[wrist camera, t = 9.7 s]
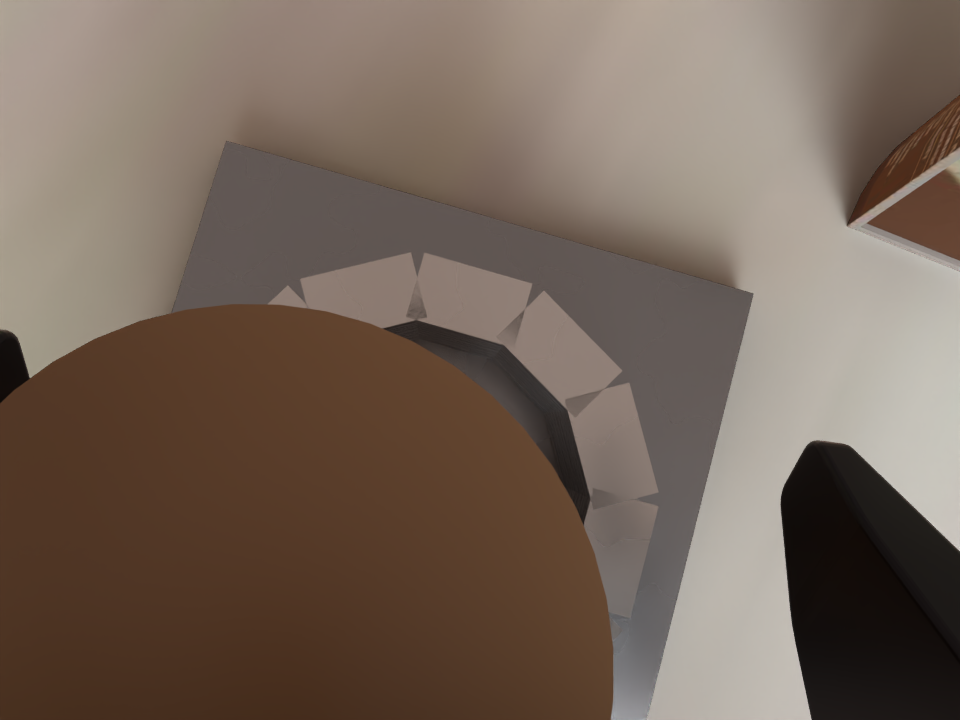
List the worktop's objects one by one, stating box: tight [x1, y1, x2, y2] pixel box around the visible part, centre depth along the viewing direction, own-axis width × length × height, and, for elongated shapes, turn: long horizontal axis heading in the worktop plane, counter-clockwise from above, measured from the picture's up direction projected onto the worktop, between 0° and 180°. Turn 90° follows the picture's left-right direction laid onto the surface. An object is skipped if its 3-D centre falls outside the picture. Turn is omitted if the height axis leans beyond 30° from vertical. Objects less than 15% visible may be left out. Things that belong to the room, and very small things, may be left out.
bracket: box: [172, 141, 753, 720], centre depth 16 cm, size 12×12×4 cm
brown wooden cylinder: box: [0, 304, 613, 720], centre depth 11 cm, size 4×4×13 cm
